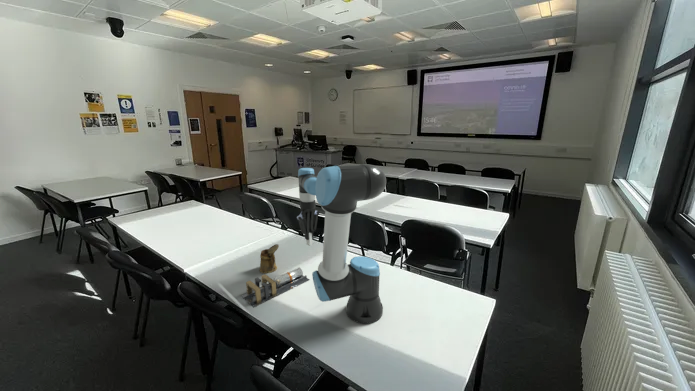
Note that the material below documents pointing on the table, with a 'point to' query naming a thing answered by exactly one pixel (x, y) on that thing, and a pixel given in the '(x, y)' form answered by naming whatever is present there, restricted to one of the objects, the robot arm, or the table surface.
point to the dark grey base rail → (279, 290)
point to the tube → (288, 277)
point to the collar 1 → (251, 286)
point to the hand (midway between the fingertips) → (309, 244)
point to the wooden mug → (268, 260)
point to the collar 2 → (272, 282)
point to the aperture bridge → (263, 286)
